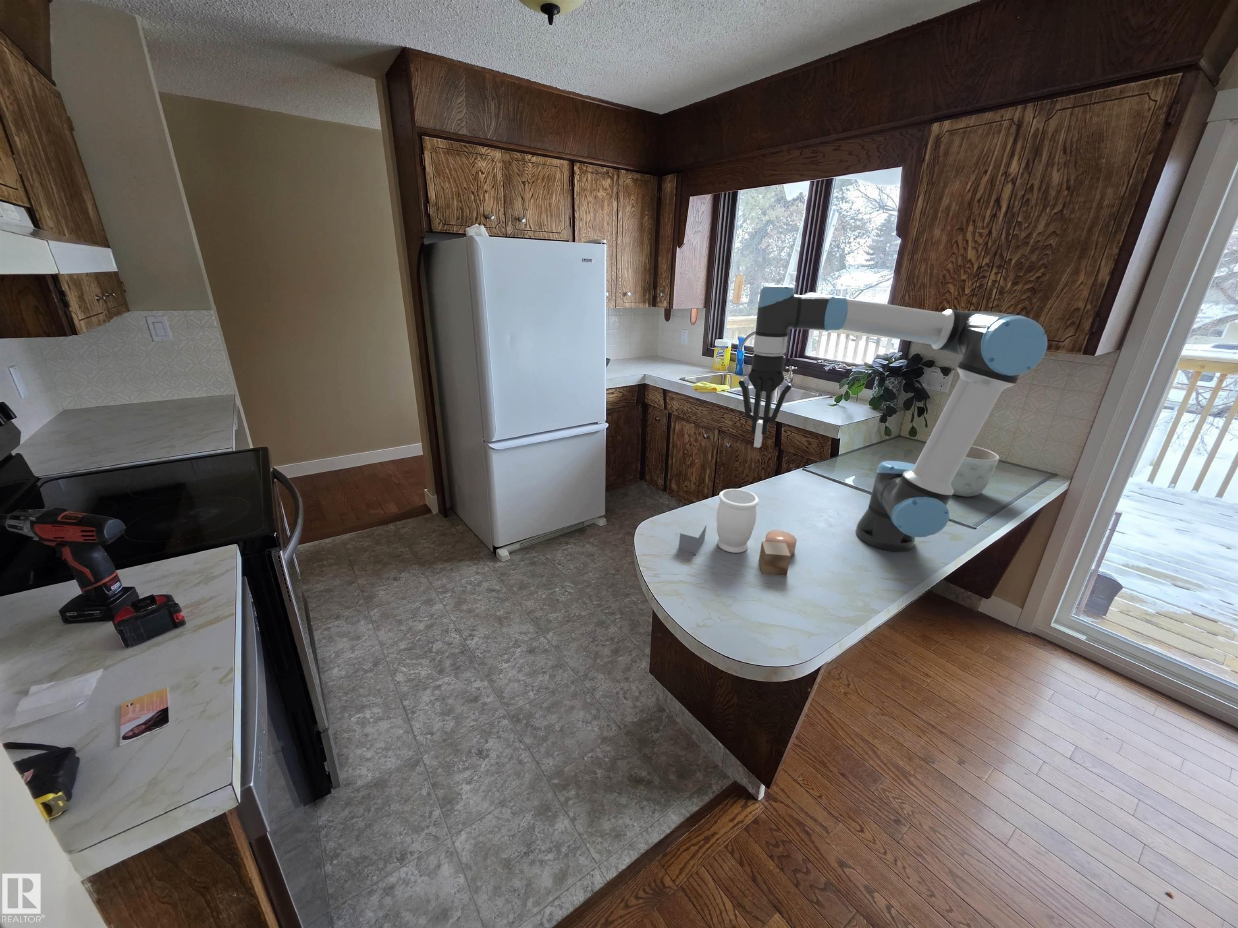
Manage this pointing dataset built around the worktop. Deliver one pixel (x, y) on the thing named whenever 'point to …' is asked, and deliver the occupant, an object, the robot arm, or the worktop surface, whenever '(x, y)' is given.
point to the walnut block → (774, 558)
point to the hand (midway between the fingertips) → (757, 445)
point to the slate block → (692, 537)
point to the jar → (735, 519)
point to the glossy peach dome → (782, 539)
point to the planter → (974, 472)
